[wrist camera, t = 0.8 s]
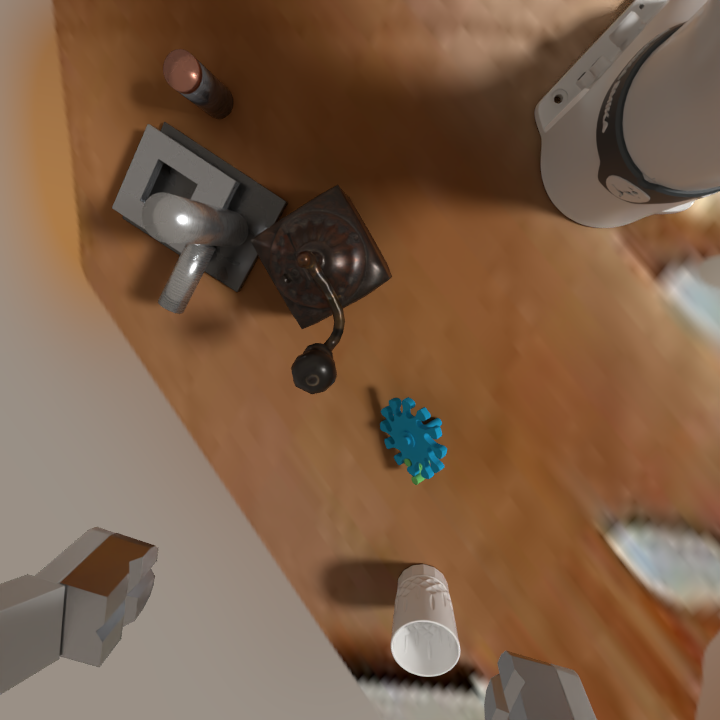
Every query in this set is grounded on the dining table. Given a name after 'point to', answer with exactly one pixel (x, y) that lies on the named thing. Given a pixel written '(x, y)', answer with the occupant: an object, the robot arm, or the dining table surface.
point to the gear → (413, 439)
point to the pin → (197, 83)
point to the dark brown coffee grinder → (321, 273)
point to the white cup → (424, 623)
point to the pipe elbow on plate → (195, 211)
